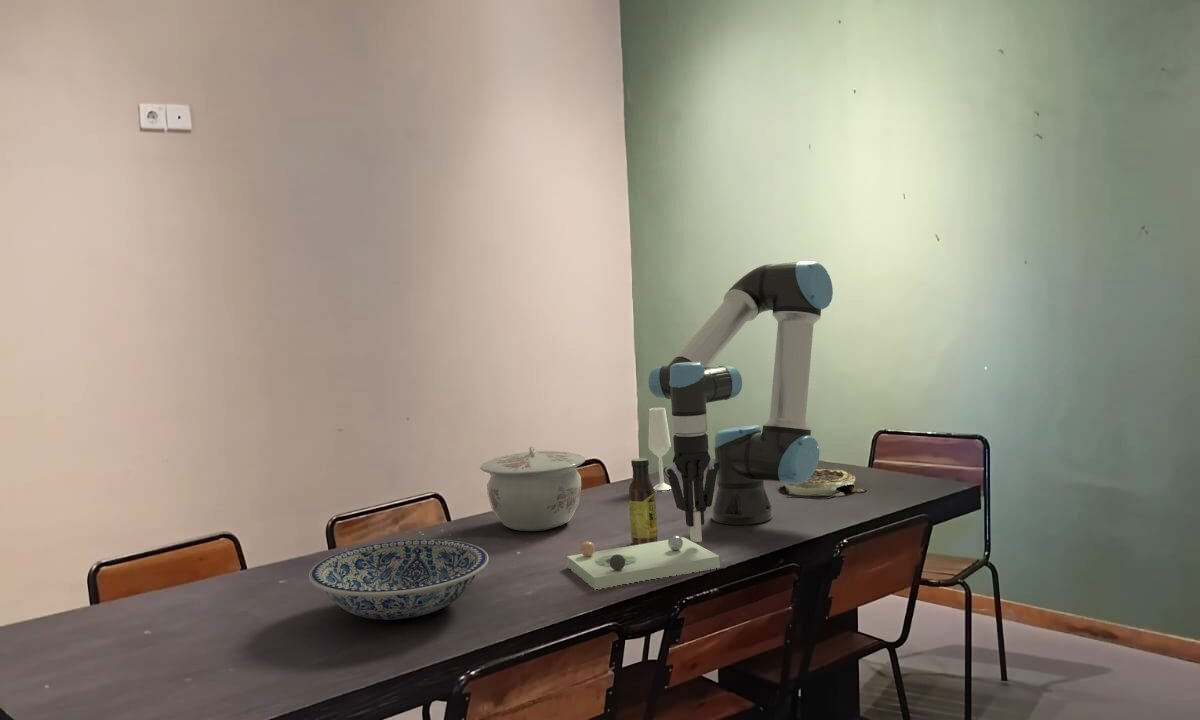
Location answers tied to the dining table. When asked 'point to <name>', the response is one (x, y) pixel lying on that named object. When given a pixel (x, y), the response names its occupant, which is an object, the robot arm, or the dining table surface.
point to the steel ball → (675, 543)
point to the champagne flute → (659, 440)
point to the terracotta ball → (587, 548)
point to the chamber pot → (534, 488)
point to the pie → (824, 484)
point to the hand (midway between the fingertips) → (696, 540)
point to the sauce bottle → (642, 504)
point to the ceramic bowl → (399, 576)
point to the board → (642, 563)
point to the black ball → (617, 562)
